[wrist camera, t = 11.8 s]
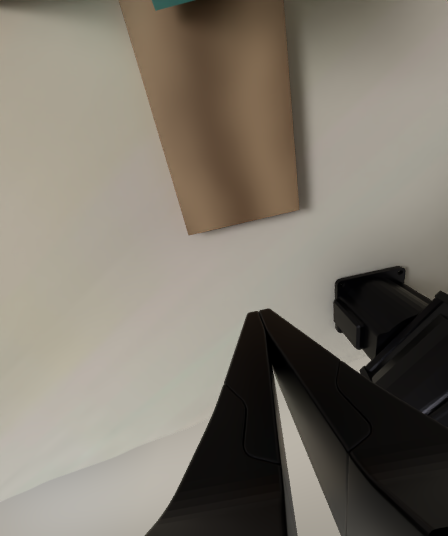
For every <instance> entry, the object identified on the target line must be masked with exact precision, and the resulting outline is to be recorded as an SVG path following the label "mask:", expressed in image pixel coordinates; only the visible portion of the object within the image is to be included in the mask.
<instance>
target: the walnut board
mask: <svg viewBox="0 0 448 536" xmlns="http://www.w3.org/2000/svg"><path fill="white" fill-rule="evenodd" d="M119 3H120V6H121V10H122V13H123V16H124V20H125V23H126V26H127V30H128V33H129V36H130V40H131V43H132V47H133V50H134V53H135V57H136V60H137V63H138V67H139V70H140V73H141V77H142V80H143V83H144V87H145V90H146V94H147V97H148V100H149V104H150V107H151V110H152V114H153V117H154V120H155V124H156V127H157V131H158V134H159V137H160V141H161V144H162V147H163V151H164V154H165V157H166V161H167V164H168V167H169V171H170V174H171V178H172V181H173V184H174V188H175V191H176V194H177V198H178V201H179V204H180V208H181V211H182V214H183V218H184V221H185V225H186V228H187V231H188V235H193V234H197V233H201V232H206V231H210V230H214V229H219V228H223V227H227V226H231V225H236V224H240V223H244V222H249V221H253V220H257V219H262V218H266V217H270V216H275V215H279V214H283V213H288V212H292V211H296V210H299V198H298V185H297V171H296V158H295V145H294V132H293V119H292V105H291V92H290V79H289V66H288V53H287V39H286V26H285V13H284V0H194V1H190V2H186V3H183V4H179V5H175V6H172V7H168V8H164V9H160V10H157V11H155V8H154V5H153V3H152V0H119Z"/></svg>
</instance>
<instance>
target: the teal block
mask: <svg viewBox="0 0 448 536" xmlns="http://www.w3.org/2000/svg"><path fill="white" fill-rule="evenodd" d="M190 1H194V0H152V3H153V5H154V8H155V11H157V10H160V9H164V8H168V7H172V6H175V5H179V4H183V3H186V2H190Z"/></svg>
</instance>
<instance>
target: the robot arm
mask: <svg viewBox="0 0 448 536" xmlns="http://www.w3.org/2000/svg"><path fill="white" fill-rule="evenodd" d="M398 271H399V272H398ZM405 272H406V271H405V269H404V268H402V267H400V266H396V267H392V268H387V269H383V270H378V271H373V272H369V273H364V274H359V275H355V276H350V277H346V278H341V279H338V280H337V281H336V282H335V300H334V302H333V304H334V322H335V328H336V330H337V331H338V332H339V333H344V334H345V336H346V337H347V338H348V339H349V341H350V342H351V343H352V345H353V346H354V347H355V348H356V349H358V350H360V349H362V350H363V351H364V352H365V353H366V354H367V356H368V357H369V358H370V359H371V361H370V362H369V363H368V364H367V365H366V366H363V367H362V368H361V369H360V373H361V374H360V373H358V372H357V371H355V370H354V369H353V368H351V367H350V366H348V365H347V364H346V363H344V362H343V361H340V359H339V358H337V357H336V356H334V355H333V354H332V353H330V352H329V351H328V350H326V349H325V348H323V347H322V346H321V345H319V344H318V343H317V342H315V341H314V340H312V339H311V338H310V337H308V336H307V335H305V334H304V333H303V332H301V331H300V330H299V329H297V328H296V327H294V326H293V325H292V324H290V323H289V322H287V321H286V320H285V319H283V318H282V317H281V316H279V315H278V314H276V313H275V312H274V311H272V310H271V309H264V310H260V311H259V312H258V311H254V312H250V313H248V314H247V316H246V319H245V322H244V325H243V328H242V331H241V334H240V337H239V340H238V343H237V346H236V349H235V352H234V355H233V358H232V361H231V364H230V367H229V370H228V372H227V375H226V378H225V381H224V385H223V387H222V390H221V393H220V396H219V399H218V401H217V404H216V407H215V409H214V412H213V414H212V417H211V419H210V421H209V423H208V426H207V428H206V430H205V432H204V434H203V437H202V439H201V441H200V443H199V445H198V447H197V449H196V451H195V453H194V455H193V458H192V460H191V462H190V464H189V466H188V468H187V470H186V472H185V474H184V477H183V479H182V481H181V483H180V485H179V487H178V489H177V491H176V493H175V495H174V496H173V498H172V500H171V502H170V504H169V505H168V507H167V508H166V510H165V511H164V513H163V514H162V516H161V517H160V518H159V519H158V521H157V522H156V523H155V524H154V526H153V527H152V528H151V529H150V530H149V531H148V532H147V534H146V535H145V536H297V529H296V522H295V515H294V509H293V502H292V496H291V488H290V481H289V475H288V468H287V461H286V454H285V448H284V442H283V434H282V428H281V421H280V414H279V407H278V400H277V394H276V387H275V380H274V374H275V376H276V379H277V381H278V384H279V386H280V388H281V391H282V393H283V396H284V398H285V401H286V403H287V406H288V408H289V410H290V413H291V415H292V417H293V420H294V423H295V425H296V427H297V430H298V432H299V435H300V437H301V440H302V442H303V444H304V447H305V449H306V452H307V454H308V457H309V459H310V461H311V464H312V466H313V468H314V471H315V473H316V476H317V478H318V481H319V483H320V486H321V488H322V491H323V493H324V495H325V498H326V500H327V503H328V505H329V508H330V510H331V512H332V515H333V517H334V520H335V522H336V524H337V527H338V530H339V532H340V534H341V536H448V294H446V293H444V292H442V291H439V292H438V293H437V294H436V295H435V298H434V299H433V300H430V299H428V298H427V297H425V296H423V295H422V294H420V293H418V292H417V291H415V290H414V289H412V288H410V287H409V286H407V285H405V284H404V279H405ZM341 283H343V284H342V285H340V284H341ZM272 368H273V369H272ZM273 371H274V374H273Z"/></svg>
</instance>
